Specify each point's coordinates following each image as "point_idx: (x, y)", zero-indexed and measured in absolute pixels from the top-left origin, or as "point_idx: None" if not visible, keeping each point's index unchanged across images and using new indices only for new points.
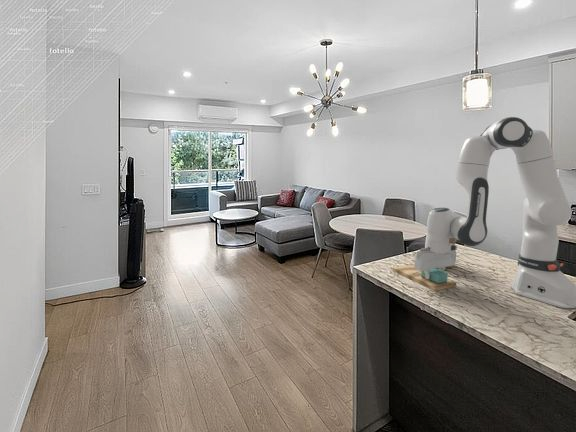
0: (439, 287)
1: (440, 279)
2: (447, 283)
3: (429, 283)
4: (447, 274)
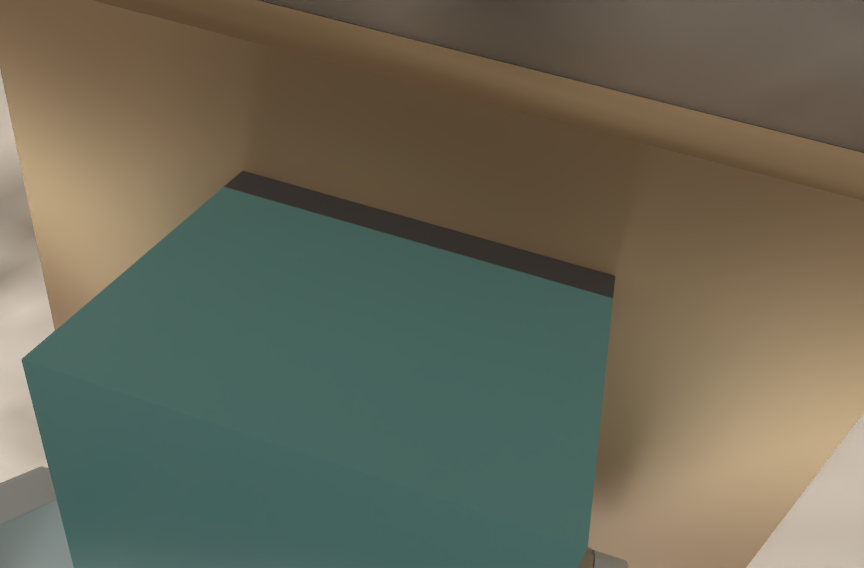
0: (754, 154)
1: (498, 343)
2: (285, 124)
3: (755, 445)
4: (69, 333)
